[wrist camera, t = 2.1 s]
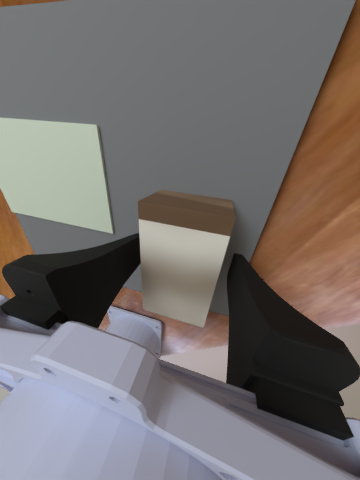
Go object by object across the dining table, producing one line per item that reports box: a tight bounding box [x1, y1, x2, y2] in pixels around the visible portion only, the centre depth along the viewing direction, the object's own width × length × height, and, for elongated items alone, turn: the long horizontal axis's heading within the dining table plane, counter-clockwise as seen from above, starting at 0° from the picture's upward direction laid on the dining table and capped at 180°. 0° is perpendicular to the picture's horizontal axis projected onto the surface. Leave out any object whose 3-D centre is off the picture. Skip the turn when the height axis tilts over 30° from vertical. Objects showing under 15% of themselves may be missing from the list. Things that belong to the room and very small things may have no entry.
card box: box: [138, 190, 236, 328], centre depth 11 cm, size 9×5×4 cm, turn 175°
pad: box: [0, 118, 114, 234], centre depth 13 cm, size 12×8×1 cm, turn 85°
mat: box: [0, 0, 356, 316], centre depth 13 cm, size 20×24×1 cm
